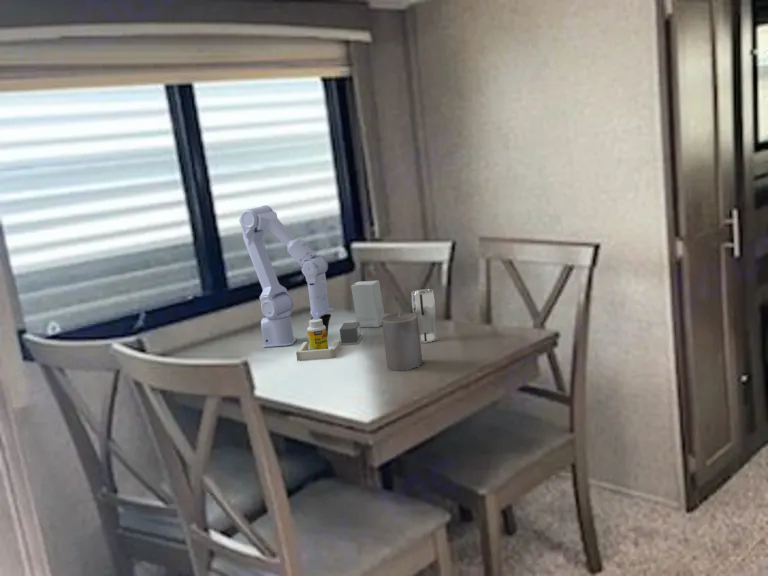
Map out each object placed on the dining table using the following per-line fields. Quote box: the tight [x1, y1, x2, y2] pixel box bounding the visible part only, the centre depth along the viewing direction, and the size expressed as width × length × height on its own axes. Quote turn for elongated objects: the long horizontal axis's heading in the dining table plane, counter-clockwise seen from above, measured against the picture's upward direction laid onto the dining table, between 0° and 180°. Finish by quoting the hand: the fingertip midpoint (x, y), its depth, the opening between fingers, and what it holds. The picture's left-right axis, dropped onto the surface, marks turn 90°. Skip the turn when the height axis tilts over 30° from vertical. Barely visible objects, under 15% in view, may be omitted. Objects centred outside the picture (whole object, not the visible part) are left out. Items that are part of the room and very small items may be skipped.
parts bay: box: [295, 338, 342, 361], centre depth 231 cm, size 11×11×2 cm
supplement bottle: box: [306, 319, 329, 350], centre depth 231 cm, size 6×6×10 cm
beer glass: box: [410, 288, 438, 344], centre depth 231 cm, size 7×7×15 cm
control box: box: [339, 321, 364, 347], centre depth 241 cm, size 6×10×5 cm, turn 174°
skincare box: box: [350, 280, 386, 328], centre depth 257 cm, size 8×6×15 cm
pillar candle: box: [381, 311, 423, 371], centre depth 209 cm, size 10×10×15 cm
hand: (323, 338), depth 239 cm, fingers closed
